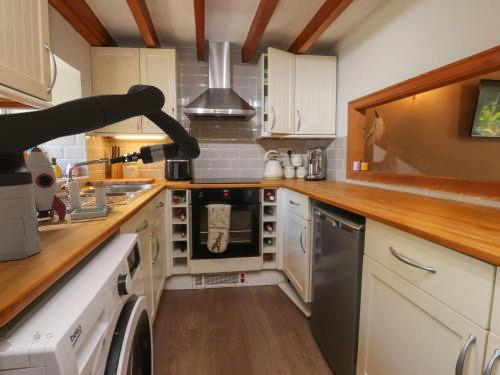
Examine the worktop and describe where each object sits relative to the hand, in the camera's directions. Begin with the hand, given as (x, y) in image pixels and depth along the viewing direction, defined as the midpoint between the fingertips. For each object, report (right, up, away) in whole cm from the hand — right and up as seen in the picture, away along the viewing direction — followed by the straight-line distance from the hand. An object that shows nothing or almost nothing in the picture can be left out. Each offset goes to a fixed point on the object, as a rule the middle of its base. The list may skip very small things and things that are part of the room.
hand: (112, 160), depth 112 cm
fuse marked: (-5, -20, 0) cm, 21 cm away
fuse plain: (-13, -21, -3) cm, 25 cm away
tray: (-4, -23, -9) cm, 25 cm away
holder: (-13, -22, -3) cm, 26 cm away
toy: (-16, -24, -17) cm, 33 cm away
